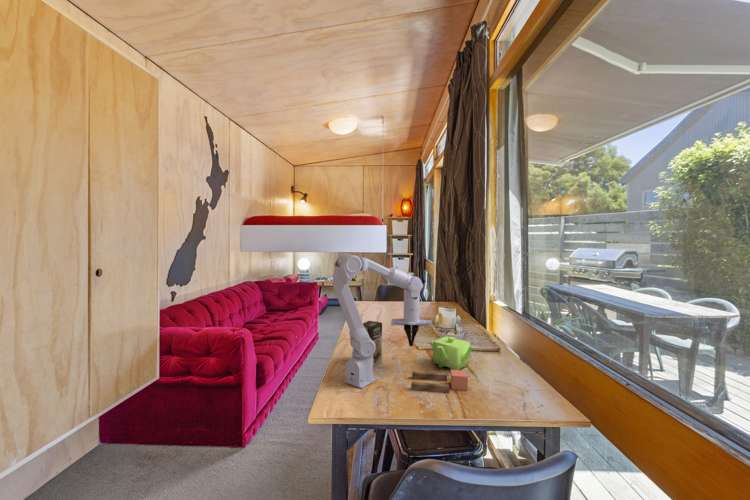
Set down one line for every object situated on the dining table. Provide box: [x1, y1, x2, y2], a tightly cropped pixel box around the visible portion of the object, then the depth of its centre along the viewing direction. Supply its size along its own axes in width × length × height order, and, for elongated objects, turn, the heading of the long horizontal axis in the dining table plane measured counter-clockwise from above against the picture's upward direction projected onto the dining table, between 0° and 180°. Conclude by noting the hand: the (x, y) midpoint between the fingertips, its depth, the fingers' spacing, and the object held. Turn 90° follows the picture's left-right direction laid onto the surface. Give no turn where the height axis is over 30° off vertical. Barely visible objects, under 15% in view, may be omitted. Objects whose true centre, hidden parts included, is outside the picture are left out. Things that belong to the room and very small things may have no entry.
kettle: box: [428, 335, 477, 371], centre depth 127 cm, size 15×14×11 cm
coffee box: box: [362, 320, 383, 369], centre depth 128 cm, size 9×6×16 cm
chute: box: [410, 370, 450, 394], centre depth 112 cm, size 12×10×2 cm
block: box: [450, 369, 469, 391], centre depth 111 cm, size 5×5×4 cm
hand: (411, 345), depth 122 cm, fingers closed
